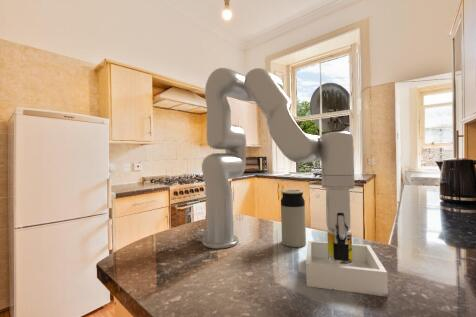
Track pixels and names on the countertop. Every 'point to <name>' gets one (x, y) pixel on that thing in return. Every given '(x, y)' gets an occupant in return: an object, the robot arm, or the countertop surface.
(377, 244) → the countertop surface
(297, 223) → the travel mug
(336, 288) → the bin
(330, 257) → the supplement bottle
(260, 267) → the countertop surface
